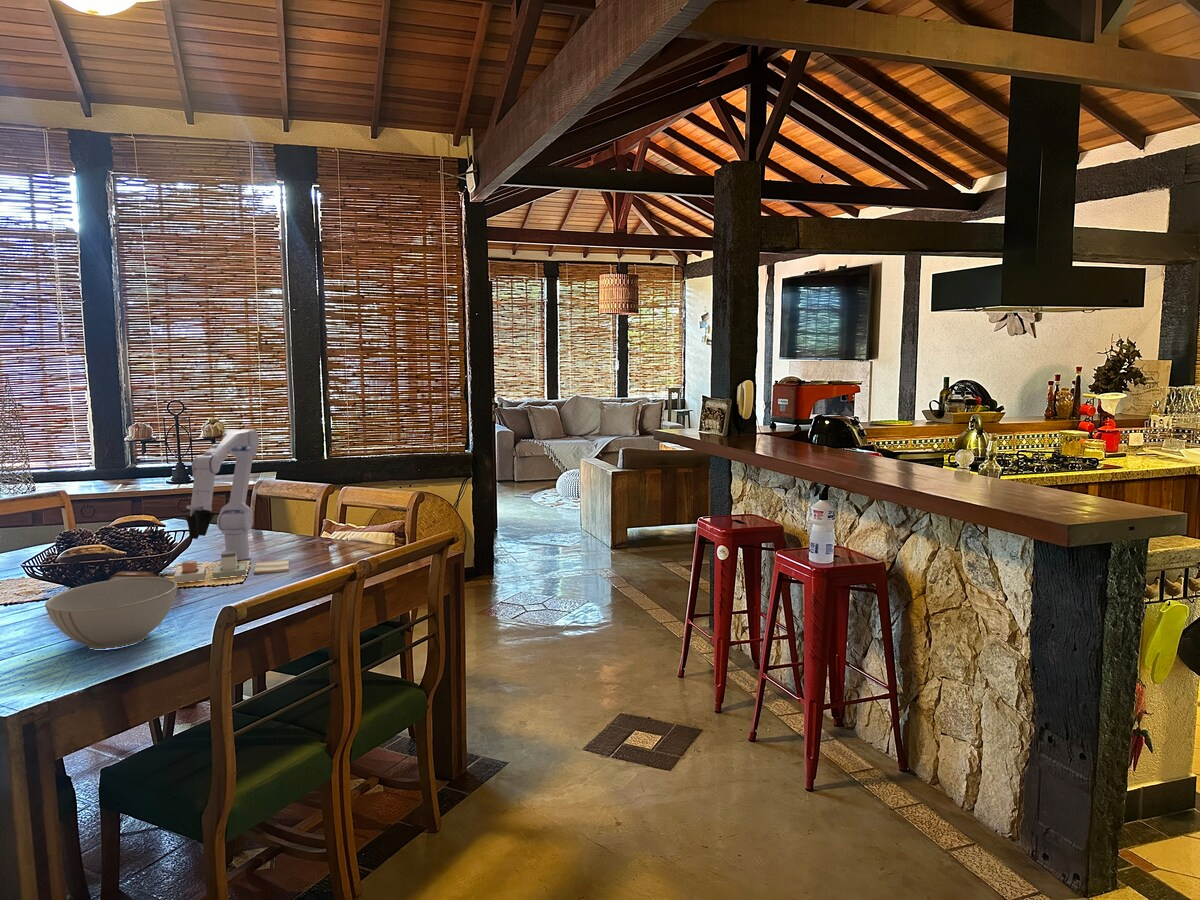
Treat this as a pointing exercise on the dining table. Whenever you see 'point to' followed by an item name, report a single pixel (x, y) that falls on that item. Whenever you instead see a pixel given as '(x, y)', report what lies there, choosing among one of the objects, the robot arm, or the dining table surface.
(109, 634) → the decorative bowl
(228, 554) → the cartridge
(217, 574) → the socket
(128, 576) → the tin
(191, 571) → the plunger button
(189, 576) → the plunger housing
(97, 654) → the dining table surface
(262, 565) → the birch board
